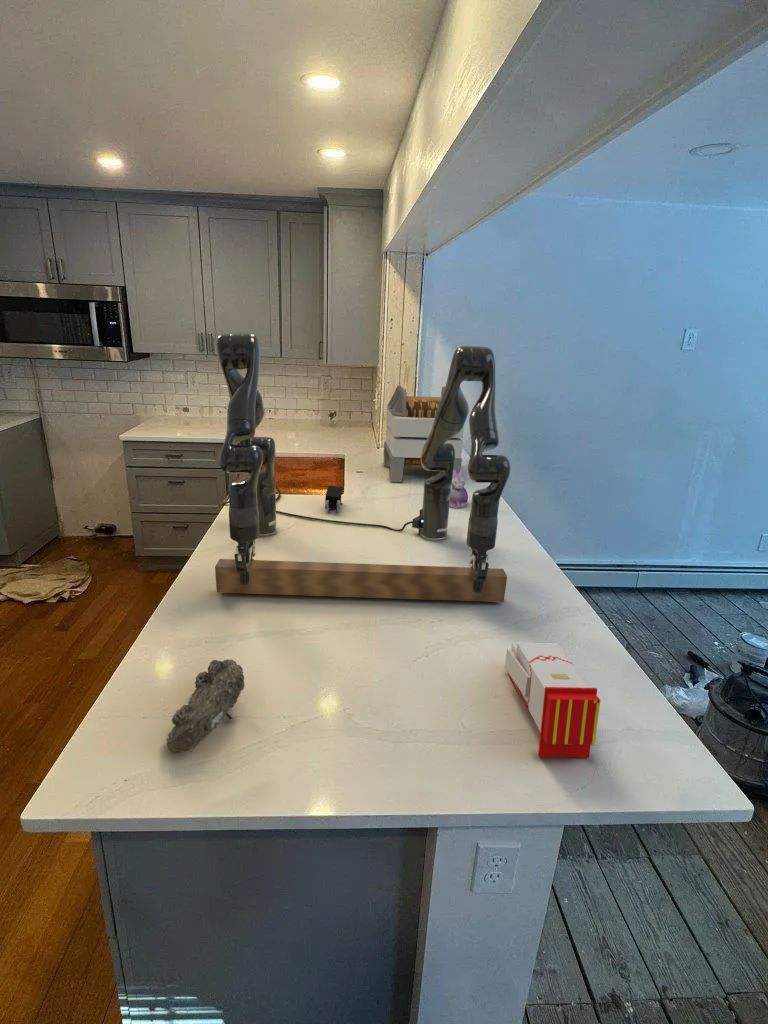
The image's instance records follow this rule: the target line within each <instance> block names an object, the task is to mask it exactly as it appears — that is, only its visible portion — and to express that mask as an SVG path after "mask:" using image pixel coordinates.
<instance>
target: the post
mask: <svg viewBox="0 0 768 1024" xmlns="http://www.w3.org/2000/svg"><path fill="white" fill-rule="evenodd" d="M241 567H243V566H241ZM248 572H249V583H248V584H247V585H242V584H240V573H237V571H236V563H235V558H219V559H218V561H217V562H216V564H215V566H214V574H215V591H216V593H220V594H221V593H222V594H250V595H251V594H253V595H278V596H279V595H280V596H281V595H282V596H283V595H284V596H308V597H309V596H313V597H337V598H339V597H340V598H341V597H342V598H370V599H371V598H372V599H398V600H399V599H400V600H401V599H402V600H404V599H405V600H430V601H431V600H432V601H459V602H461V601H463V602H491V603H492V602H493V603H505V598H506V589H507V583H508V582H507V581H508V575H507V573H506V571H505V569H504V568H498V567H497V568H495V567H494V568H493V567H490V568H489V567H488V571H487V577H486V581H483V586H482V592H481V593H477V592H474V590H473V589H474V580H475V579H474V577H475V571H474V570H473V568H470V567H468V566H467V567H466V566H464V567H463V566H437V565H435V566H434V565H411V564H410V565H408V564H407V565H406V564H383V563H382V564H381V563H380V564H377V563H351V562H325V561H324V562H321V561H320V562H319V561H293V560H292V561H291V560H266V559H265V560H264V559H254V560H251V562H250V563H249V571H248ZM479 576H482V575H479Z"/></svg>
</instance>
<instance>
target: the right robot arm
mask: <svg viewBox="0 0 768 1024" xmlns="http://www.w3.org/2000/svg"><path fill="white" fill-rule="evenodd" d="M449 365H450V366H449V370H448V374H447V379H446V383H445V386H444V387H445V390H444V393H443V396H442V399H441V401H440V404H439V406H438V409H437V412H436V416H435V419H434V423H433V426H432V429H431V432H430V434H429V436H428V438H427V440H426V442H425V444H424V447H423V450H422V453H421V464H422V466H421V467H422V468H423V470H426V471H428V472H429V471H430V472H438V473H437V474H435V475H433V476H431V477H429V478H427V479H425V480H424V482H423V493H422V496H423V497H422V506H421V508H420V509H419V515H418V516H416V517H413V518H412V520H410V521H408V522H405V523H404V524H403V526H402V527H401V528H399V529H396V528H392V527H389V526H387V525H382V524H376V523H375V524H374V523H361V522H351V521H341V520H332V519H325V518H320V517H319V518H318V517H311V516H305V515H300V514H294V513H290V512H284V511H280V510H276V514H280V515H281V514H282V515H285V516H290V517H295V518H302V519H305V520H306V519H307V520H312V521H320V522H325V523H326V522H327V523H335V524H343V525H354V526H364V527H377V528H384V529H387V530H390V531H394V532H402V531H404V529H405V528H406V527H407V526H408V525H411V527H412V528H413V529H417V535H418V536H420V538H421V539H424V540H426V541H432V542H440V541H444V540H446V539H447V538H448V525H449V517H450V516H449V514H450V493H451V489H452V477H453V470H454V463H455V449H454V446H453V445H452V444H450V443H445V442H446V441H448V440H449V439H451V438H452V437H454V436H455V435H456V434H457V433H459V432H460V431H461V429H462V428H463V426H464V427H465V423H466V421H467V419H468V416H469V420H468V424H469V426H468V427H469V434H470V443H471V444H470V445H471V446H470V455H469V460H468V465H467V475H468V478H469V479H470V480H471V481H472V482H473V483H478V484H481V483H483V484H484V483H485V484H486V483H487V484H488V483H489V484H488V486H486V487H484V488H479V489H476V490H475V491H474V492H473V493H472V495H471V503H470V513H469V517H468V523H467V532H466V541H465V542H466V546H467V547H468V548H470V554H469V555H470V556H469V557H470V558H469V564H470V567H469V568H473V570H474V571H475V577H474V579H475V580H474V589H473V590H474V592H477V593H481V592H482V586H483V581H486V577H487V571H488V568H489V566H490V563H489V562H488V561H489V554H487V552H488V551H491V550H494V548H495V547H496V542H497V541H496V540H497V534H498V533H497V532H498V526H499V525H498V524H499V520H498V519H499V518H498V517H499V516H498V515H499V507H500V502H501V501H500V500H501V497H502V494H503V491H504V489H505V487H506V484H507V482H508V480H509V478H510V474H511V467H512V466H511V462H510V460H509V458H508V457H507V456H506V455H503V454H483V453H485V452H490V451H492V450H495V449H496V448H497V447H498V446H499V444H500V437H499V430H498V424H497V423H498V422H497V415H496V360H495V353H494V351H493V350H492V349H491V348H490V347H488V346H480V345H479V346H478V345H477V346H476V345H460V346H458V347H456V349H455V350H454V352H453V355H452V357H451V362H450V364H449ZM463 382H481V392H480V395H479V397H478V398H477V400H476V403H475V404H474V406H473V407H472V410H471V411H470V408H469V403H468V400H467V399H466V396H465V394H464V393H463V391H462V388H461V384H462V383H463ZM469 413H470V414H469ZM227 504H229V500H228V501H225V502H223V503H222V506H225V505H227ZM479 575H482V576H479Z"/></svg>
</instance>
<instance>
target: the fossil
mask: <svg viewBox="0 0 768 1024" xmlns="http://www.w3.org/2000/svg"><path fill="white" fill-rule="evenodd" d="M243 670H244V669H243V667H242V665H240V664H237V662H236V661H235V660H234V659H232V658H231V659H227V658H226V659H224V660H223V661H222V660H217V659H212V660H211V661H210V663H209V665H208V666H207V671H201V672H199V673H198V674H197V675H196V676H195V680H194V684H195V685H194V687H195V689H194V690H193V693H192V694H191V697H190V698H189V700H188V704H184V705H182V706H181V707H180V709H177V710H176V711H175V713H174V715H173V716H172V718H171V723H172V724H173V727H172V730H171V731H170V732H168V734H167V738H166V741H167V742H166V745H167V749H168V750H169V751H173V752H174V753H176V754H178V753H182V752H188V751H189V752H192V751H193V750H195V748H196V747H197V746H199V744H200V743H201V742H203V741H204V740H205V739H206V738H207V737H208V736H209V735H210V734H211V733H212V732H214V730H215V729H217V727H218V726H219V724H220V722H221V721H222V720H223V719H224V718H225V716H226V717H227V719H229V720H233V717H232V715H230V714H229V710H230V709H231V708H234V706H235V704H236V703H237V702H238V699H239V697H240V695H241V693H242V691H243V690H245V689H244V688H245V675H244V671H243Z"/></svg>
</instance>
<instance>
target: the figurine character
mask: <svg viewBox="0 0 768 1024" xmlns="http://www.w3.org/2000/svg"><path fill="white" fill-rule="evenodd" d="M343 491H344V486H337V485H328V486H327V488H326V493H325V497H324V498H325V500H324V510H327V513H328V514H330V513H331V511H335V514H338V513H339V510H341V507H342V506H343V504H344V503H343V502H342V496H343Z"/></svg>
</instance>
